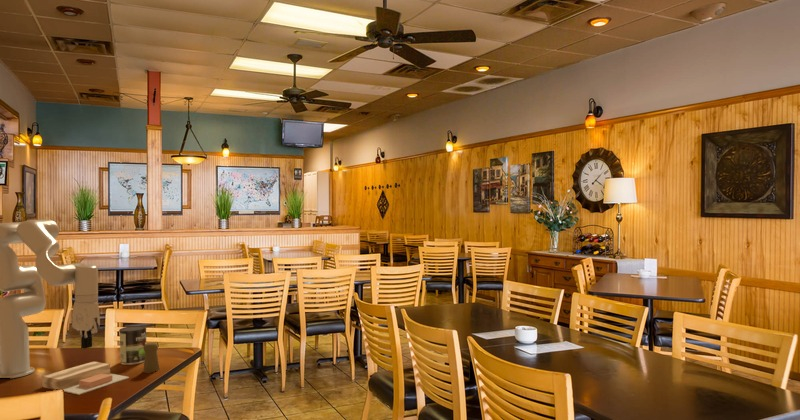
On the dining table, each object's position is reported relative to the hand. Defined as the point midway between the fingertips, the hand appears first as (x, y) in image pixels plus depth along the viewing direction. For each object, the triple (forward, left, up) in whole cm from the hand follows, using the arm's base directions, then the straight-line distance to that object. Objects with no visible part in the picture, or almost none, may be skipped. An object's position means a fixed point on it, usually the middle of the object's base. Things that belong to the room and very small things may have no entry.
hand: (86, 347), depth 207 cm
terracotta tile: (+5, 0, -11) cm, 12 cm away
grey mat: (+4, 0, -13) cm, 14 cm away
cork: (+10, +20, -14) cm, 26 cm away
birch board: (-6, 0, -13) cm, 15 cm away
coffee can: (-8, +26, -14) cm, 31 cm away
